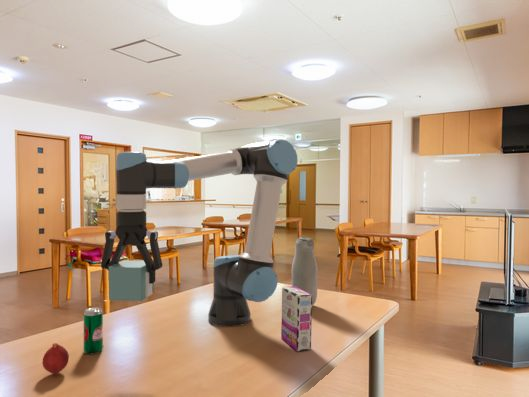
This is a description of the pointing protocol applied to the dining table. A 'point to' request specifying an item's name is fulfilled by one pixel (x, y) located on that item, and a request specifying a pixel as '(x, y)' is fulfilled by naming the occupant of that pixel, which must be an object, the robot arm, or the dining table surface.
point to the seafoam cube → (128, 281)
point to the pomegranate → (55, 359)
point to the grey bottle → (305, 267)
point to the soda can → (93, 330)
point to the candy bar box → (296, 318)
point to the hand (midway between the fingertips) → (132, 294)
